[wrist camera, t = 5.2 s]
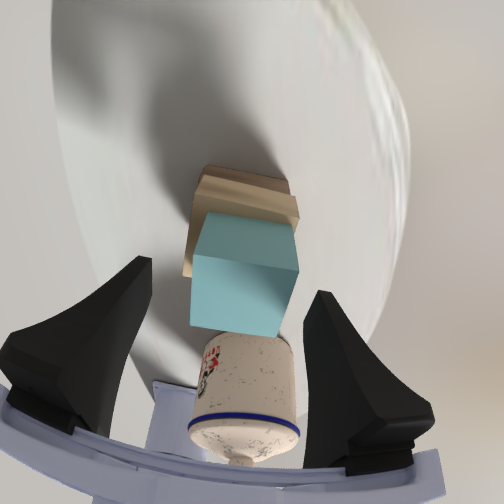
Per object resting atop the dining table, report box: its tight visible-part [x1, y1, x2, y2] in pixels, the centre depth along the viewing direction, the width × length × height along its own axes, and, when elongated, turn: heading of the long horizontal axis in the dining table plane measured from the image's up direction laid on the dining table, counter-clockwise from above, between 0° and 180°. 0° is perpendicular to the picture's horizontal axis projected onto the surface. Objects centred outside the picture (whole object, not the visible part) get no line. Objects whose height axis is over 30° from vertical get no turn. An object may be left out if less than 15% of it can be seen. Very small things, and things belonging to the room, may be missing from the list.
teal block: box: [190, 212, 299, 338], centre depth 14 cm, size 4×4×4 cm
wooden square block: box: [198, 165, 290, 195], centre depth 18 cm, size 5×5×2 cm
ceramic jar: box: [187, 332, 300, 467], centre depth 24 cm, size 12×9×12 cm
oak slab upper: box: [182, 175, 300, 278], centre depth 16 cm, size 5×5×2 cm
